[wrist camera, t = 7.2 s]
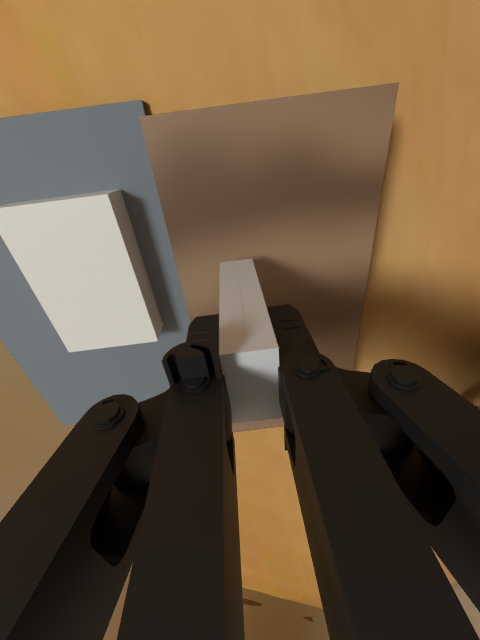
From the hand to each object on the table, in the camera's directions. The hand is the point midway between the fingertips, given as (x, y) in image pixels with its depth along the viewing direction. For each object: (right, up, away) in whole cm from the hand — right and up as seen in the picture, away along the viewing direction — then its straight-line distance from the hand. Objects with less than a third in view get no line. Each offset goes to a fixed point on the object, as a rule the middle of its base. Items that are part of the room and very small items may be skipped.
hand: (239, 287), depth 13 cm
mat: (-10, -1, +6) cm, 12 cm away
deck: (+2, +1, +6) cm, 6 cm away
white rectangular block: (-9, 0, +3) cm, 9 cm away
